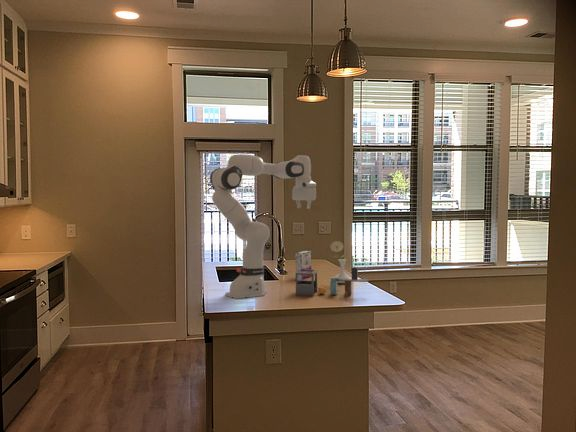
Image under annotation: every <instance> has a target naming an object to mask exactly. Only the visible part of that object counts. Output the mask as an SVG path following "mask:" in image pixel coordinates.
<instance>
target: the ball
mask: <svg viewBox="0 0 576 432" xmlns="http://www.w3.org/2000/svg"><path fill="white" fill-rule="evenodd" d="M326 291H327V290H326V288H325V287H324V286H319V288H317V293H318V294H320V295H324V294H325V293H326Z"/></svg>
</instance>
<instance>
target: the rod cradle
mask: <svg viewBox="0 0 576 432" xmlns="http://www.w3.org/2000/svg"><path fill="white" fill-rule="evenodd" d="M351 296H352V282H351V280H345V283H344V297H351Z"/></svg>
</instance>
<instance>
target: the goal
mask: <svg viewBox="0 0 576 432" xmlns="http://www.w3.org/2000/svg"><path fill="white" fill-rule="evenodd" d="M302 271H311V272H312V273H302ZM302 275H311V277H310V278H311V280H308V279H307V280H305V279H302ZM315 293H318V269H311V270H299V271H298V272H296V271H295V296H296V297H315Z"/></svg>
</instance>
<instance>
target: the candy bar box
mask: <svg viewBox="0 0 576 432" xmlns="http://www.w3.org/2000/svg"><path fill="white" fill-rule="evenodd" d="M294 254H295V255H294V256H295V258H294V259H295V273H296V272H298V271H299V270H312V251H311V250H303V251H299V252H295V253H294ZM302 273H313V272H311V271H302ZM307 278H312V277H311V275H302V280H305V279H307Z"/></svg>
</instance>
